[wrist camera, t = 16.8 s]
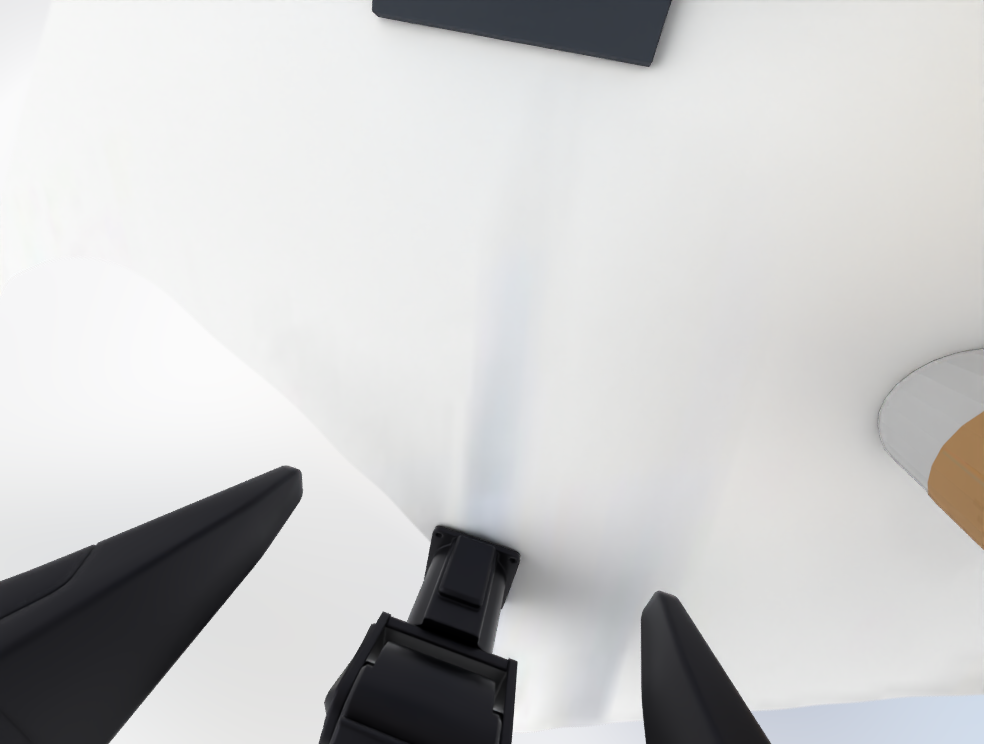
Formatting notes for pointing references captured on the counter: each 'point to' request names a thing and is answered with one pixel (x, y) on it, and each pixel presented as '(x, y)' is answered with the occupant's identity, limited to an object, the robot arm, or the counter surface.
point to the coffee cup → (942, 434)
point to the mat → (547, 23)
